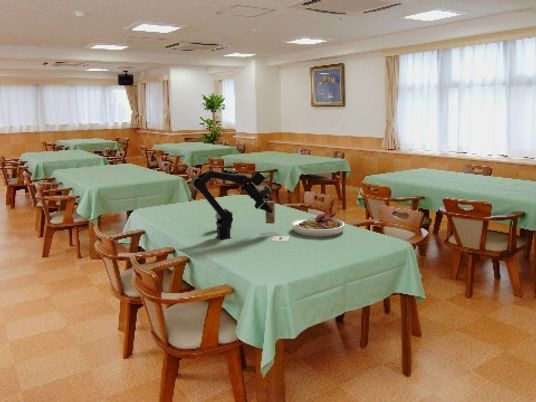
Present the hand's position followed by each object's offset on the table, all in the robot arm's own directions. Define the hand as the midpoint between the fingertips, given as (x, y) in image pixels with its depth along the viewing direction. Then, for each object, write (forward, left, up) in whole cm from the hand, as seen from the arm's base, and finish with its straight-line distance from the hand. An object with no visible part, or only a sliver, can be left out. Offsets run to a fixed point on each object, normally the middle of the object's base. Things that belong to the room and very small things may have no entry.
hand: (272, 211), depth 275 cm
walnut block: (-1, +1, -6) cm, 6 cm away
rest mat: (-1, +1, -13) cm, 14 cm away
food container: (-18, +28, -14) cm, 36 cm away
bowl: (+26, -8, -14) cm, 31 cm away
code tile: (-1, -10, -13) cm, 17 cm away
